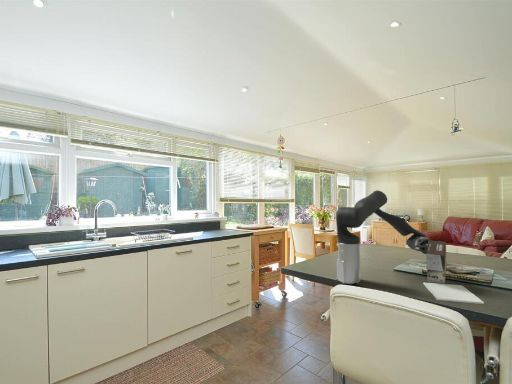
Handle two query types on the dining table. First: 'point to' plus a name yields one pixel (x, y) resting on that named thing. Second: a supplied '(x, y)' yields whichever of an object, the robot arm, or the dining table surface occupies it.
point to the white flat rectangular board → (452, 293)
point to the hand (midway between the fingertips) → (436, 251)
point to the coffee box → (436, 262)
